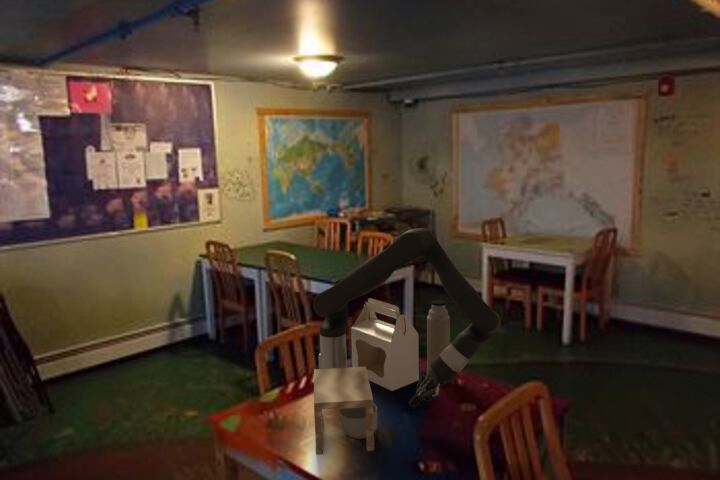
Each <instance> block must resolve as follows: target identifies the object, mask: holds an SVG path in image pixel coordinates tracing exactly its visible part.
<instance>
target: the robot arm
mask: <svg viewBox="0 0 720 480" xmlns="http://www.w3.org/2000/svg"><path fill="white" fill-rule="evenodd" d="M418 259H424V260H425V261H426V262H427V263H429V265H431V267H432V268H433V270H434V271H435V272H436V274H437V276H438V278H439V281H440V283H441V285H442V287H443V289H444V291H445V292H446V294H447V295H448V296H449V298H450V299H451V300H452V301H453V302H454V304H455V305H457V306H458V307H459V309H460V310H462V311H463V313H464V315H466V317H467V318H468V320H469V321H470V322H471V323H470V324H469V325H468V326H467V328H465V330H463V331H461V332H460V333H458V335H457V336H456V337H455V338H454V340H453V341H451V342H450V345H449V346H447V347H446V348H445V349H444V350H443V351H442V353H441V354H440V355H439V356H438V357H437V358H436V359H435V360H434V361H433V363H432V364H431V368H432V369H431V370H430V371H429V372H428V373H427V371H425V370H423V371H422V372H421V375H420V376H419V380H418V381H417V384H416V386H415V388H416V391H415V394H414V395H413V396H412V397H411V399H409V401H408V404H409V406H410V407H412V408H413V409H416V408H417V407H418V406H419V405H420V403H421V402H422V401H424V402H427V403H428V402H430V401H433V400H435V399H438V398H439V397H440V396H441V394H440V393H439V391H440V389H441V388H442V387H443V385H444V384H445V383H446V384H447V383H448V384H450V383H451V382H452V381H453V380H454V379H455V378H456V376H458V375H459V373H460V372H461V371H462V370H463V368H464V367H466V365H467V364H468V362H469V361H470V359H471V358H473V356H475V354H476V353H477V352H478V350H480V348H481V347H482V345H484V344H485V343H486V342H487V341H488V340H490V338H491V337H492V336H493V335H494V334H495V333H496V332H497V331H498V330H499V329H500V326H501V317H500V315H499V314H498V312H496V311H494V310H493V309H492V308H491V307H490V306H489V305H488V304H487V302H485V301H484V299H482V297H481V295H480V294H479V292H477V291H478V290H476V289H475V288H474V287H473V285H471V283H470V282H469V281H468V280H467V279H466V278H465V277H464V276H463V274H462V273H461V272H460V271H459V269H457V267H456V266H455V265H454V263H453V262H452V260H451V259H450V257H449V256H448V255H447V253H446V251H445V250H444V249H443V247H442V245H441V244H440V243H439V241H438V240H437V238H436V236H435V235H434V234H433V233H432V231H430V230H429V229H428V228H425V227H424V228H423V227H418V228H413V229H409V230H406V231H405V232H403V233H402V234H400V235H399V236H398V237H397V238H396V239H395V240H394V241H393V242H392V243H391V244H389V246H387V247H386V248H385V249H384V250H382V251H381V252H379V253H376V254H375V255H373V256H372V257H370V258H369V259H367V260H366V261H364V262H363V263H362V264H360V265H358V266H357V267H356V268H355V269H353V270H351V272H349V273H348V274H347V275H345V277H343V278H342V279H341V280H340V281H339V282H337V283H336V284H335V285H333V286H331V287H329V288H327V289H325V290H323V291H320V292H319V293H318V294H317V295H316V296H315V297H314V300H313V311H314V312H315V314H316V315H318V316H319V317H322V318H324V320H323V321H322V323H321V325H320V326H319V343H320V344H319V345H320V347H319V349H320V352H319V354H318V356H317V357H318V369H331V368H348V363H347V362H348V361H347V334H346V332H347V331H346V330H347V326H348V318H349V302H351V301H353V300H356V299H358V298H361V297H363V296H364V295H367V294H368V293H371V292H372V291H374V290H376V289H377V288H379V287H380V286H381V285H383V284H384V283H386V282H387V281H388V280H389V278H390V277H392V275H393V274H394V272H395V271H396V270H398V269H400V268H401V267H402V266H405V265H406V264H408V263H410V262H412V261H416V260H418Z"/></svg>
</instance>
